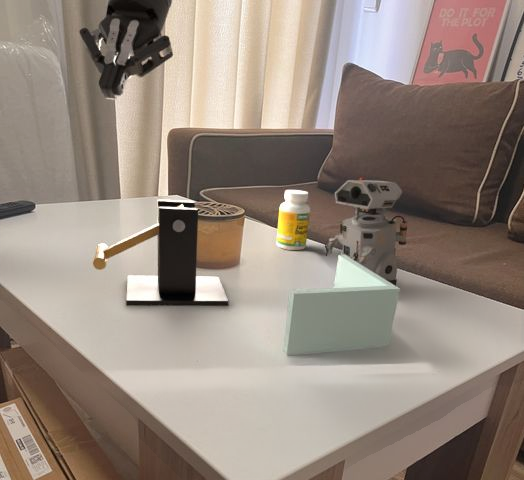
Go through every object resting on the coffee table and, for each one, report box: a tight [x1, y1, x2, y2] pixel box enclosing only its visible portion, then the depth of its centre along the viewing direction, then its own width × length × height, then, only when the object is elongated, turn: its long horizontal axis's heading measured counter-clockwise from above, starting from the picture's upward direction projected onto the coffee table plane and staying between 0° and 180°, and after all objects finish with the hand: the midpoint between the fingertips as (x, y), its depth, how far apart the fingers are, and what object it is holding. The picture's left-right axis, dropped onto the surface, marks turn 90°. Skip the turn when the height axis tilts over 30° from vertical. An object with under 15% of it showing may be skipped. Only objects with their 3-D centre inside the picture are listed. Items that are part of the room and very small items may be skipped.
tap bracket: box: [125, 199, 230, 307], centre depth 64 cm, size 12×9×12 cm
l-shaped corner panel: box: [282, 254, 401, 356], centre depth 59 cm, size 12×12×8 cm
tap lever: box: [92, 204, 184, 271], centre depth 62 cm, size 12×6×2 cm, turn 102°
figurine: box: [324, 177, 408, 287], centre depth 75 cm, size 9×12×15 cm
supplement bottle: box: [276, 189, 311, 251], centre depth 92 cm, size 5×5×10 cm
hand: (108, 93), depth 67 cm, fingers closed
